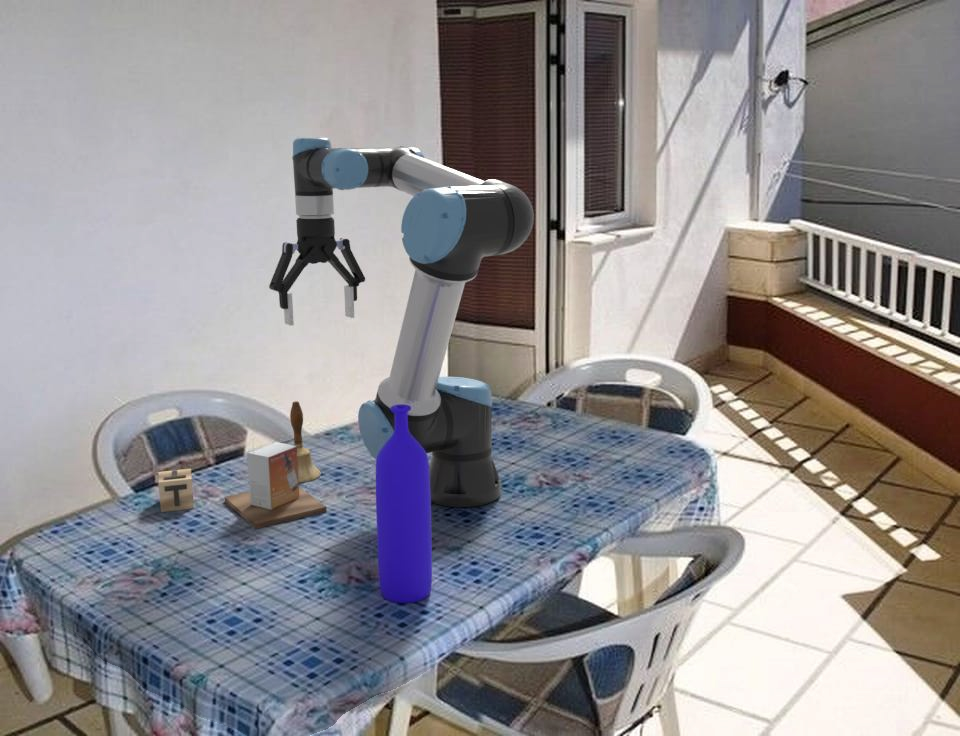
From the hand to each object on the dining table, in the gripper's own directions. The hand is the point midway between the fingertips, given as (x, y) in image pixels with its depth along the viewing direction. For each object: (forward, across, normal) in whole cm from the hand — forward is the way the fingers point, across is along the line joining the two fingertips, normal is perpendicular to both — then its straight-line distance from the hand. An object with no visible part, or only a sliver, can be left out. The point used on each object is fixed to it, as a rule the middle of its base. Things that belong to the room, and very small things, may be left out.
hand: (320, 320), depth 199 cm
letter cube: (+32, +33, +3) cm, 46 cm away
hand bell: (+32, +7, +2) cm, 33 cm away
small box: (+31, +18, +15) cm, 39 cm away
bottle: (+32, +15, +60) cm, 70 cm away
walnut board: (+32, +18, +15) cm, 39 cm away
